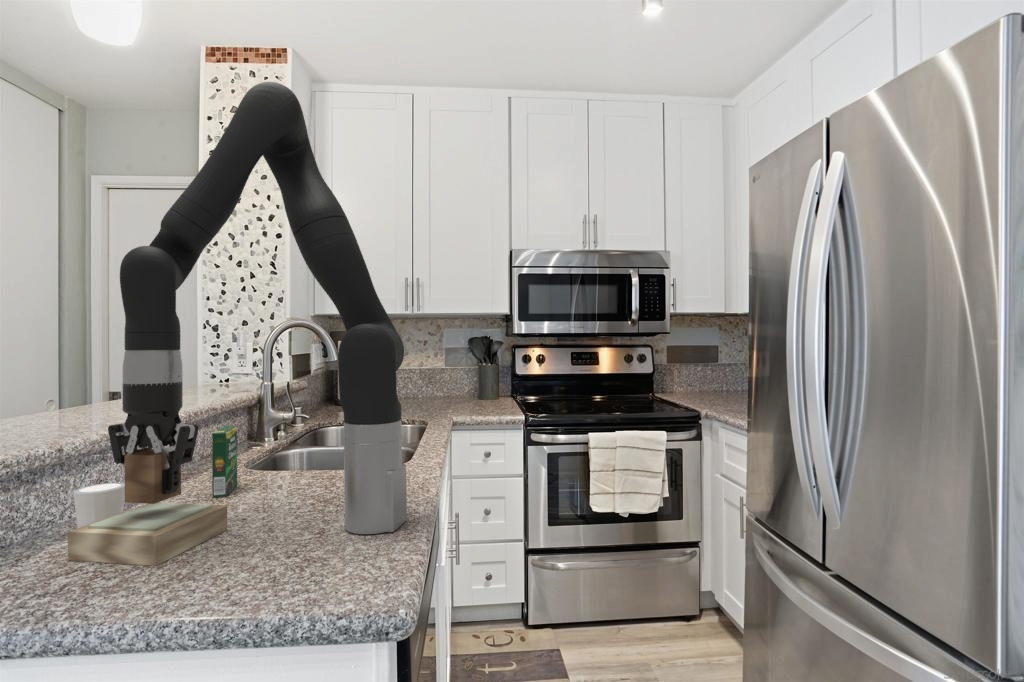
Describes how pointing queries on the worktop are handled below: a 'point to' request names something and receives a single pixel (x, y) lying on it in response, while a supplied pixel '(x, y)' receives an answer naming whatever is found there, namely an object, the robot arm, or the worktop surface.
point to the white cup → (98, 502)
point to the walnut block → (146, 478)
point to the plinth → (147, 533)
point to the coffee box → (224, 461)
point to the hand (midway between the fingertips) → (153, 491)
